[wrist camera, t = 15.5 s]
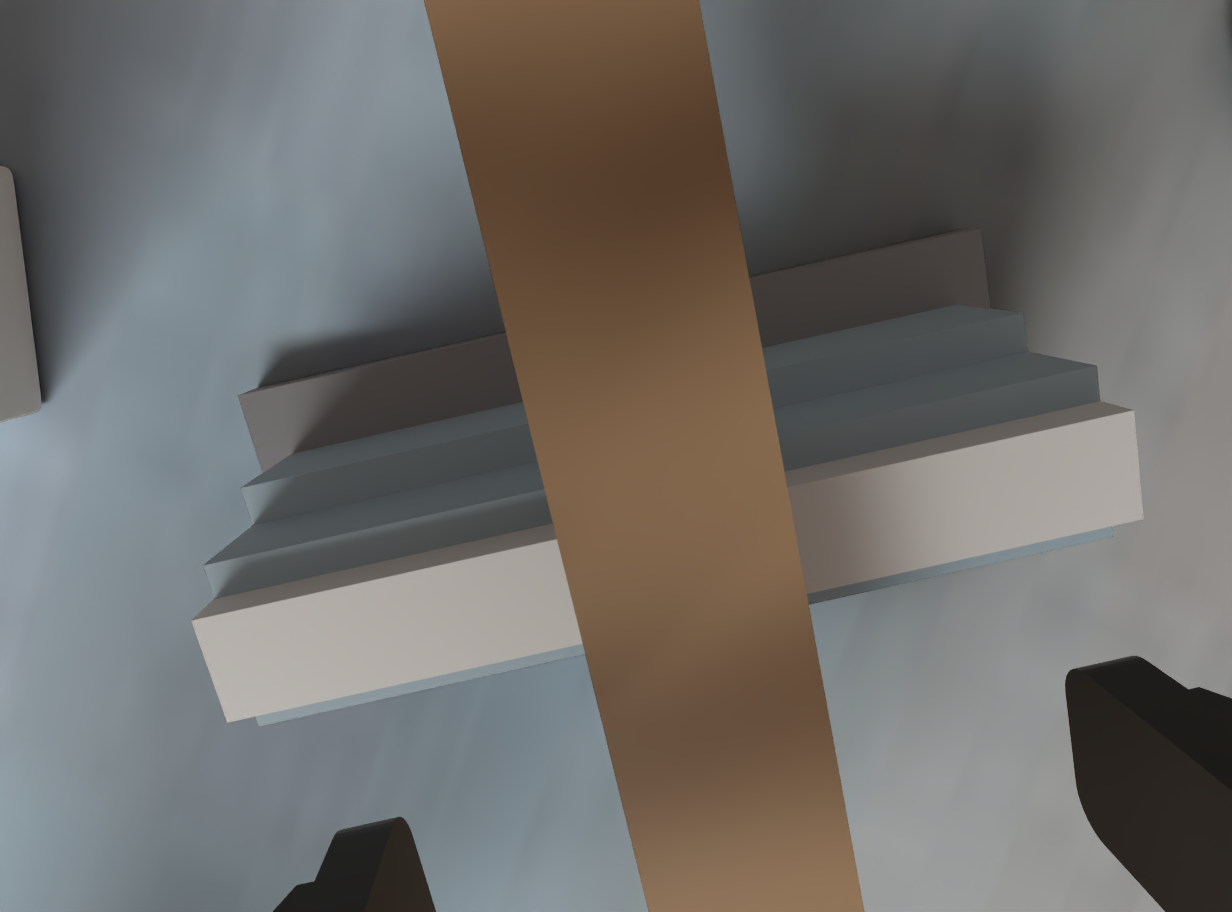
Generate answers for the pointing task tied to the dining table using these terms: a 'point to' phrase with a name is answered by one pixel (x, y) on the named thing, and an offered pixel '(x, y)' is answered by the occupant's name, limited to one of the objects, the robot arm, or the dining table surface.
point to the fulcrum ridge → (520, 516)
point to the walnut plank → (655, 437)
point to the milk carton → (15, 315)
